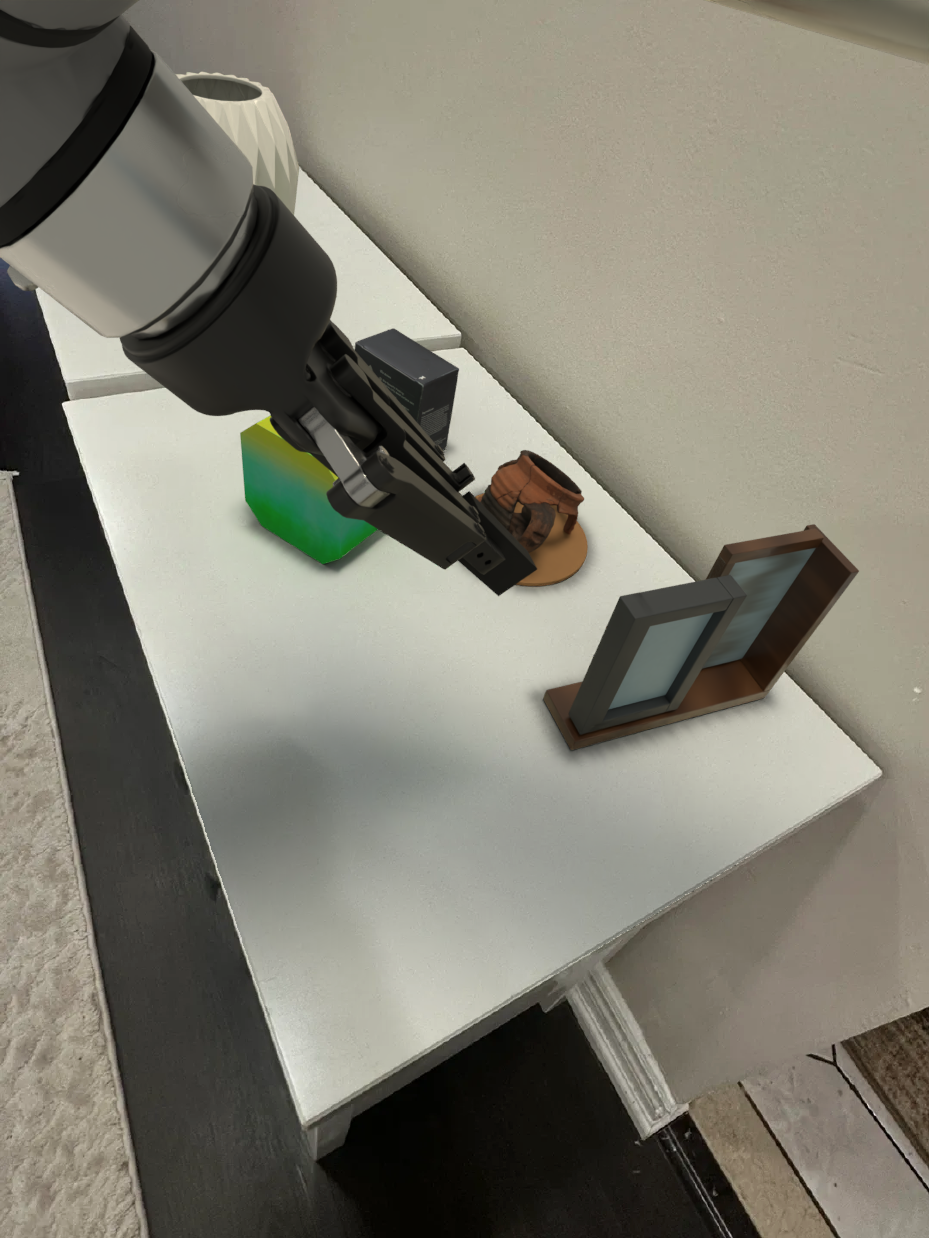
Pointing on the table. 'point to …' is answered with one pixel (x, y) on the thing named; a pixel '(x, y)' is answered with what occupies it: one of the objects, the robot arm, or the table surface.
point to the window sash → (654, 651)
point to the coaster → (556, 553)
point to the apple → (295, 496)
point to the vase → (251, 128)
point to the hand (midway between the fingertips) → (513, 573)
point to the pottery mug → (531, 498)
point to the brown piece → (745, 628)
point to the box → (414, 379)
